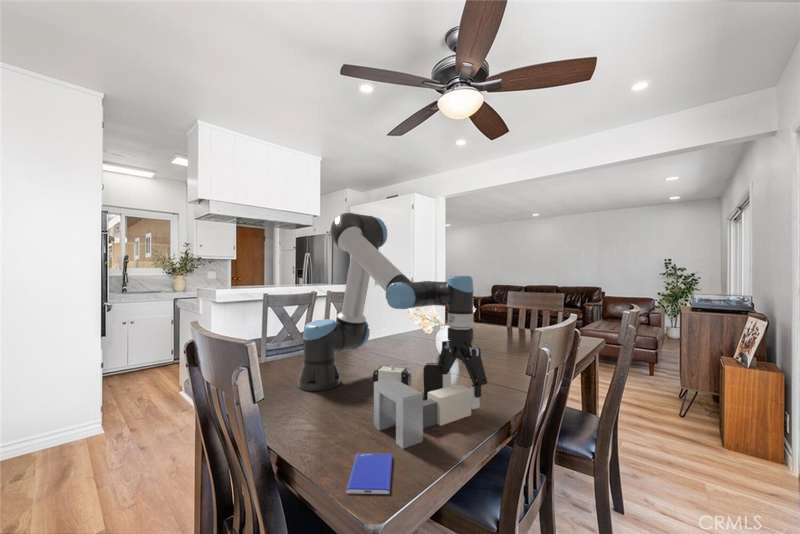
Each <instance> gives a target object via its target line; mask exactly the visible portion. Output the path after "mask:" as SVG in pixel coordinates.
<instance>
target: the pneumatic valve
mask: <svg viewBox="0 0 800 534" xmlns="http://www.w3.org/2000/svg"><path fill="white" fill-rule="evenodd" d="M390 378H393V379H395V380H397V381H399V382H401V383H404V384H406V385H408V386H410V387H411V384H412V374H411V373H410V372H409V371H408V368H407V367H397V366H396V367H395V366H394V365H391V364H390V366H383V365H380V366H379V367H378V368H377V369H376V370H374V371H373V373H372V381H371V382H372V384H373V385H374V382H376V381H381V380H386V379H390Z"/></svg>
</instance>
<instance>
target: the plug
mask: <svg viewBox="0 0 800 534" xmlns="http://www.w3.org/2000/svg"><path fill="white" fill-rule="evenodd" d="M471 416H472V409H471V388H469V387H466V386H464V385H462V384H461V385H460V384H454V385H451V386H449V387H446V388H442V389H438V390H434V391H430V392H428V399H425V400H424V399H423V430H424V429H426V428H431V427H432V426H436V425H438V426H444V425H446V424H449V423H452V422H455V421H459V420H462V419H464V417H465V418H466V417H471ZM461 418H462V419H461Z"/></svg>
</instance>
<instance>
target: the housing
mask: <svg viewBox="0 0 800 534" xmlns="http://www.w3.org/2000/svg"><path fill="white" fill-rule="evenodd" d="M423 401H424V392H421V391H420V390H417V388H414V387H412V386H411V385H410V386H408V385H406V384H404V383H401V382H399V381H397V380H395V379H393V378H390V379H386V380H381V381H376V382H374V384H373V427H374V428H375V429H376V430H378V431H382V430H386V429H389V428H392V427H395V444H396V445H398V447H400V448H401V449H403V450H404V449H406V448H409V447H413V446H415V445H417V444H421V443H423V442H424V429H423Z"/></svg>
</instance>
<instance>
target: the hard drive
mask: <svg viewBox="0 0 800 534" xmlns="http://www.w3.org/2000/svg"><path fill="white" fill-rule="evenodd" d="M392 463H393V454H392V453H383V452H382V453H381V452H380V453H375V452H374V453H371V452H370V453H369V452H358V453H356V455H355V457H354V462H353V465H352V469H351V472H350V475H349V479H348V481H347V482H348V483H347V487H346V494H363V495H364V494H366V495H367V494H369V495H370V494H372V495H376V494H377V495H390V490H391V489H390V488H391V478H392V477H391V476H392V466H393V465H392Z"/></svg>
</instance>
